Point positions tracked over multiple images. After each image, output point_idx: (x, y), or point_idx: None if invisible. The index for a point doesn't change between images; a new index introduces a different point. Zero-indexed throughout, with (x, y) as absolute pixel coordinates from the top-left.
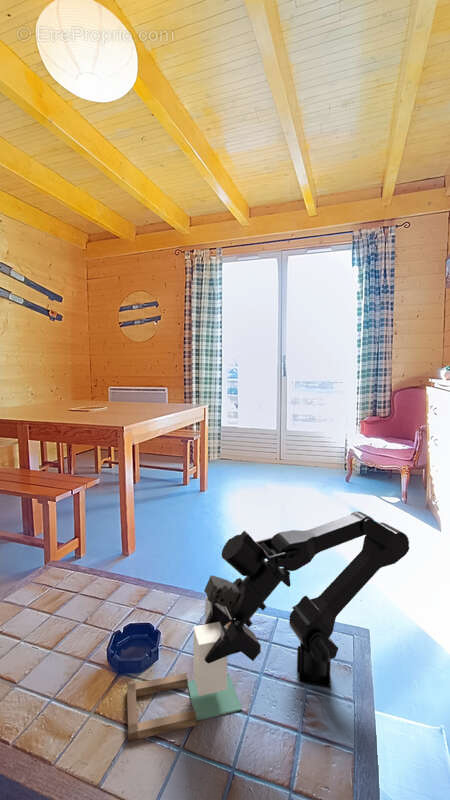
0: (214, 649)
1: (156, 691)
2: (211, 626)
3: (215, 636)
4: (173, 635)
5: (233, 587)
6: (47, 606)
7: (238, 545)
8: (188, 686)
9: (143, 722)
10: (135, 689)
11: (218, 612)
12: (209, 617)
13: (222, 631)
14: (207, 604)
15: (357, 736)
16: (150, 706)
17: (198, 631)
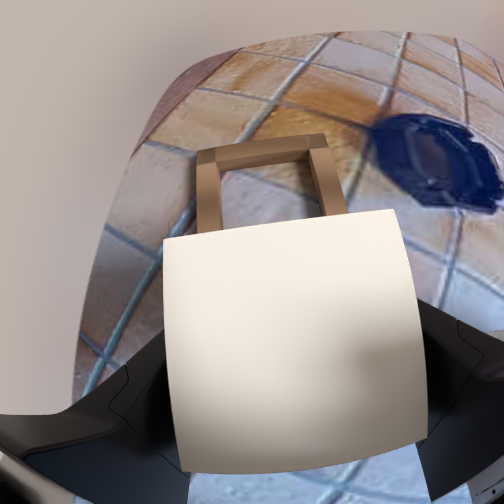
0: (135, 356)
1: (319, 200)
2: (384, 370)
3: (236, 395)
4: (490, 245)
5: None
6: (469, 63)
7: None
8: None
9: (213, 172)
10: (309, 148)
11: (488, 438)
12: (471, 347)
13: (4, 424)
14: None
15: None
16: (278, 191)
17: (329, 244)
